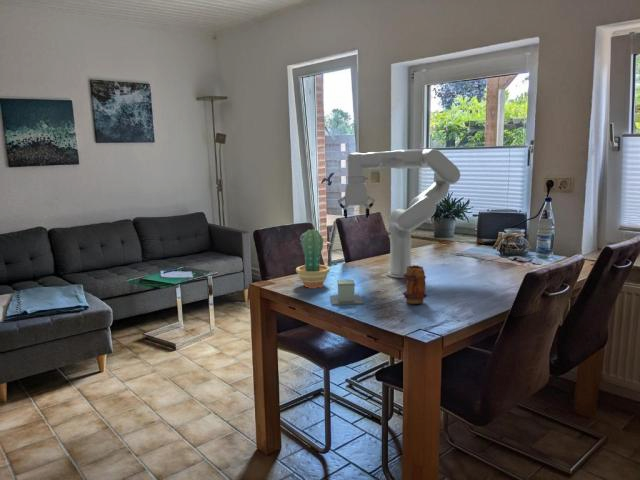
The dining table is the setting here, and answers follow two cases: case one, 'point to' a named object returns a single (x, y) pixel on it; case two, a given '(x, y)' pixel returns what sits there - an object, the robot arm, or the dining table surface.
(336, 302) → the slate coaster
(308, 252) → the potted cactus
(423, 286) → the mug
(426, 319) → the dining table surface
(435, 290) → the dining table surface
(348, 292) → the tea tin
